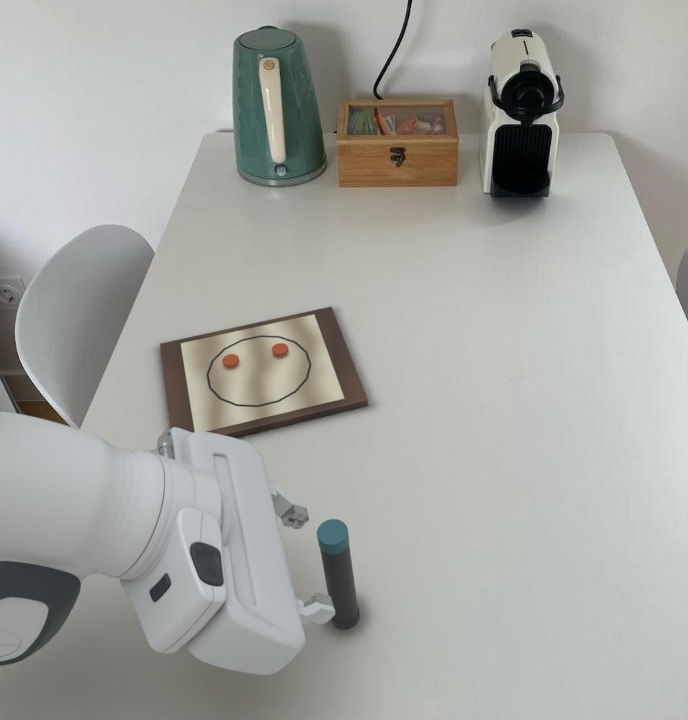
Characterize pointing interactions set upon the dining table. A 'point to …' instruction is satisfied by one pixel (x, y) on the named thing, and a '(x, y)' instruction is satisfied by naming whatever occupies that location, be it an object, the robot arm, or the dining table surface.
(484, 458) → the dining table surface
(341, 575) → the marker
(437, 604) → the dining table surface
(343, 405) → the brown framed board
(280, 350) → the right eye
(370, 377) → the dining table surface
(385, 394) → the dining table surface
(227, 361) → the left eye
